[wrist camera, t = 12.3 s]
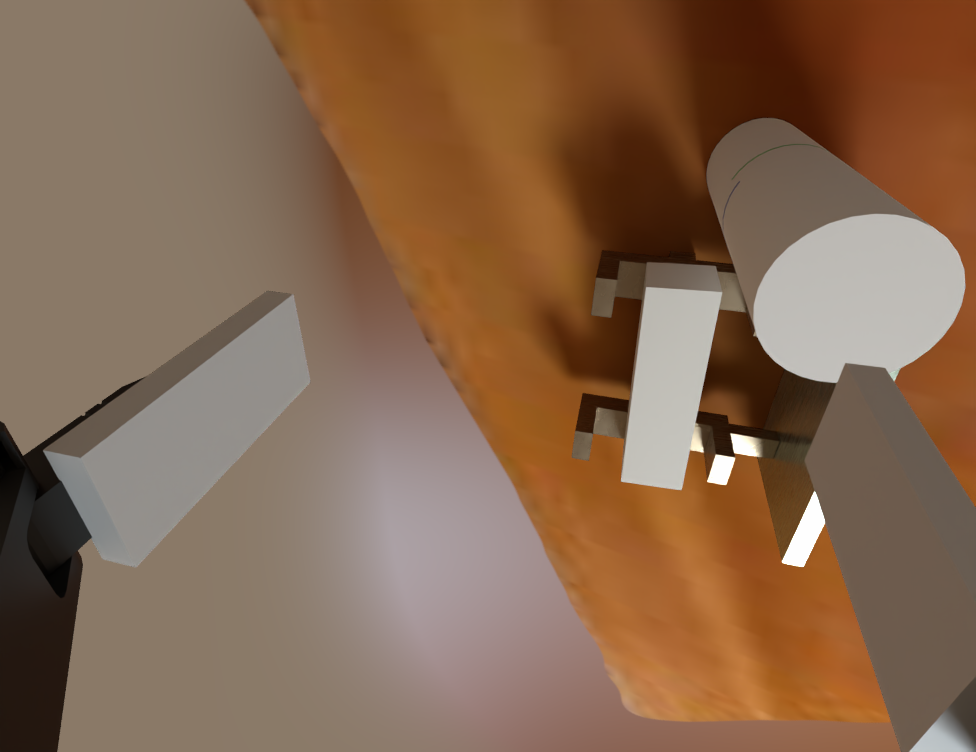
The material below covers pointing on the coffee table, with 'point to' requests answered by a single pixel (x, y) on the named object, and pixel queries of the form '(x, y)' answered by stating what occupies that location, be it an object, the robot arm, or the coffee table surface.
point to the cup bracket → (773, 445)
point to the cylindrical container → (828, 255)
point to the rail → (669, 371)
